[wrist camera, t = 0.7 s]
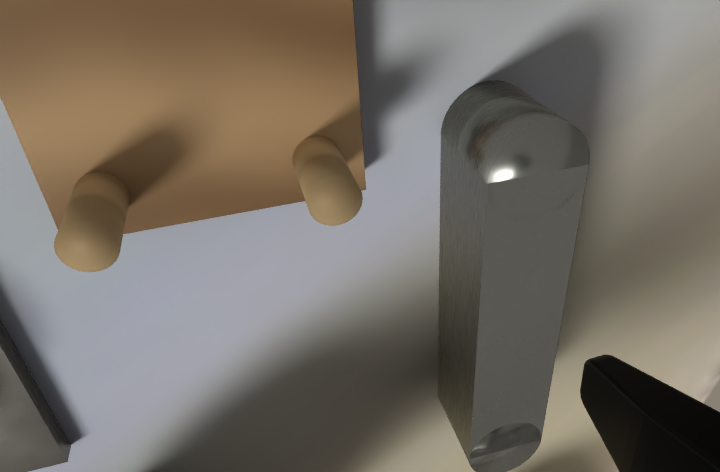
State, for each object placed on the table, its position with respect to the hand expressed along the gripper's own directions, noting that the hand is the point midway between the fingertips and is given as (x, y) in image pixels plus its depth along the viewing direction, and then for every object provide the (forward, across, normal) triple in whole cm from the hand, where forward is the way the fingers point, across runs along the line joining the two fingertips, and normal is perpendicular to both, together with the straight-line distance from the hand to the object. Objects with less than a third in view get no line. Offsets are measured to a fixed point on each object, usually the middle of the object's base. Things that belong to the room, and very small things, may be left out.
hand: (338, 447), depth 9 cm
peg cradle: (+12, +1, -5) cm, 13 cm away
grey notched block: (+12, -8, +8) cm, 17 cm away
